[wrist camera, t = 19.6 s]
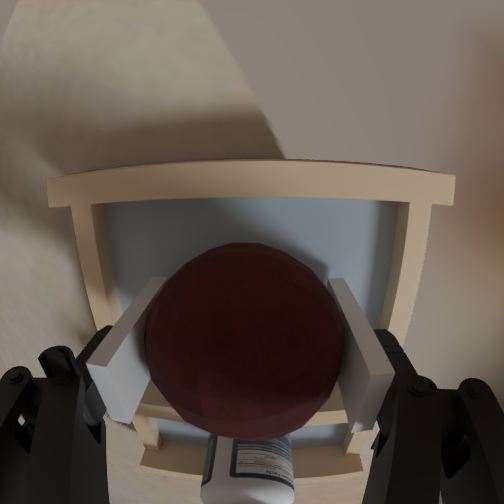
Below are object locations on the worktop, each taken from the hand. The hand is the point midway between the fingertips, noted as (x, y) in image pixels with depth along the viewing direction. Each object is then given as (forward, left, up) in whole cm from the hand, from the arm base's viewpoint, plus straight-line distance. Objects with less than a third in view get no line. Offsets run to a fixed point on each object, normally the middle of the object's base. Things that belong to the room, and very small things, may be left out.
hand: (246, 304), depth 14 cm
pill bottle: (0, -10, -1) cm, 10 cm away
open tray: (0, -4, -1) cm, 4 cm away
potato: (0, 0, -1) cm, 1 cm away
